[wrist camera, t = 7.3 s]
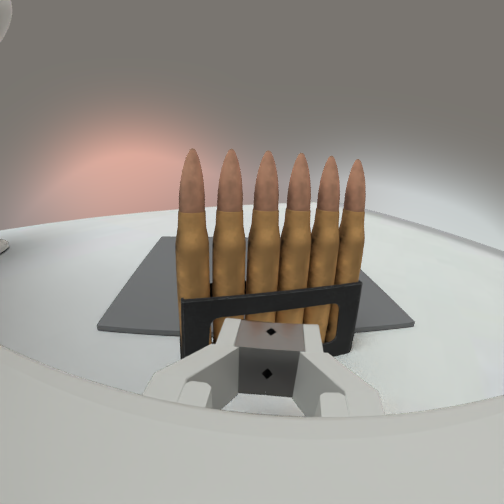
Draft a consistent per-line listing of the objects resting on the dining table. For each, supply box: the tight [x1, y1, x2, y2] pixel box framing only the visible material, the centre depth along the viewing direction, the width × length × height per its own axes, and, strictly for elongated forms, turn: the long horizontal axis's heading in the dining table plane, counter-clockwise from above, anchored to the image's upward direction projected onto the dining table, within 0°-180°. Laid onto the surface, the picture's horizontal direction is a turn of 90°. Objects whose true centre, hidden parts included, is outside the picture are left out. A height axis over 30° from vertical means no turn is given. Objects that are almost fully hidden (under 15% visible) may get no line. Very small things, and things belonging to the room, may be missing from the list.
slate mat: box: [97, 237, 415, 337], centre depth 31 cm, size 24×24×1 cm
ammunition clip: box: [175, 149, 365, 359], centre depth 16 cm, size 11×2×12 cm, turn 106°
